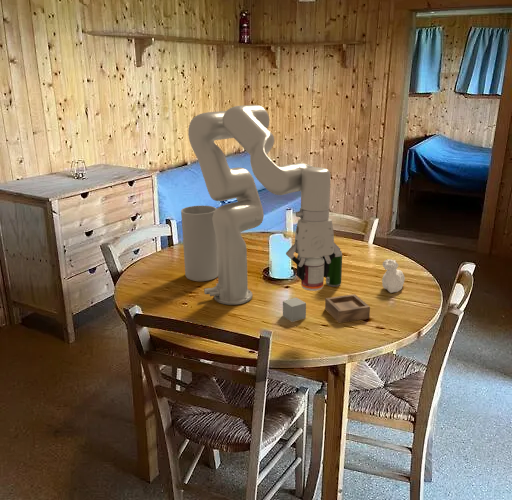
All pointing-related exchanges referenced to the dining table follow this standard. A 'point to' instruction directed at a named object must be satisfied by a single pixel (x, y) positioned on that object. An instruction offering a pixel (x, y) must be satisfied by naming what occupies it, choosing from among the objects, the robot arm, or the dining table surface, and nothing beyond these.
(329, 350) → the dining table surface
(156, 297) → the dining table surface
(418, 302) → the dining table surface
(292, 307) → the grey cube
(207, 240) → the cylinder vase
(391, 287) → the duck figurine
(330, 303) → the brown square tray
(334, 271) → the beer can
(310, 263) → the pill bottle
